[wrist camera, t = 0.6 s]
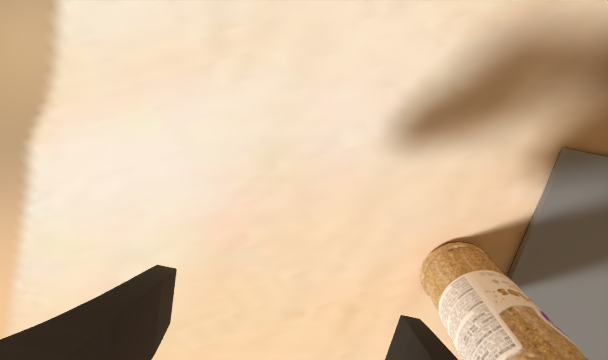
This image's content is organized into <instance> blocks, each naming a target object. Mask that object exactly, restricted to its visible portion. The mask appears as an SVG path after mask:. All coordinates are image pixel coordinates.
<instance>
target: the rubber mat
mask: <svg viewBox="0 0 608 360" xmlns="http://www.w3.org/2000/svg"><path fill="white" fill-rule="evenodd" d="M507 277H508V278H509V279H510V280H512V281H513V282H514V283H515V284H516V285H517V286H518V287H519V288H520V289H521V290H522V291H523V292H524V293H525V294H526V295H527V296H528V297H529V298H530V299H531V301H532V302H533V303H534V304H535V305H537V306H538V307H539V308H540V309H541V310H542V312H543V313H544V314H545V315H546V316H547V317H548V318H549V319H550V320H551V321H552V322H553V323H554V324H555V325H556V326H557V327H558V328H559V329H560V330H561V331H562V332H563V333H564V334H565V335H567V336H568V337H569V338H570V339H571V340H572V341H573V343H574V344H575V345H576V346H577V347H578V348H579V349H580V351H581V353H582V354H583V355H584V356H585V357H586V358H587V359H588V360H608V157H607V156H602V155H597V154H592V153H587V152H582V151H578V150H573V149H568V148H562V150H561V152H560V155H559V157H558V159H557V162H556V164H555V166H554V169H553V171H552V173H551V176H550V178H549V180H548V183H547V185H546V187H545V190H544V192H543V194H542V196H541V199H540V201H539V203H538V206H537V208H536V210H535V213H534V215H533V217H532V220H531V222H530V224H529V227H528V229H527V231H526V234H525V236H524V238H523V241H522V243H521V245H520V248H519V250H518V252H517V255H516V257H515V259H514V261H513V264H512V266H511V268H510V271H509V273H508V275H507Z"/></svg>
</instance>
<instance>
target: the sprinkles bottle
mask: <svg viewBox="0 0 608 360" xmlns="http://www.w3.org/2000/svg"><path fill="white" fill-rule="evenodd" d="M420 279H421V284H422V286H423V289H424V290H425V292H426V293H427V295H428V296H429V297H430V298H431V299H432V301H433V303H434V305H435V306H436V308H437V310H438V312H439V315H440V318H441V320H442V322H443V324H444V326H445V328H446V330H447V332H448V334H449V336H450V337H451V339H452V341H453V343H454V345H455V347H456V349H457V351H458V352H459V354H460V356H461V358H462V360H588V359H587V358H586V357H585V356H584V355H583V354H582V353H581V351H580V349H579V348H578V347H577V346H576V345H575V344H574V343H573V341H572V340H571V339H570V338H569V337H568V336H567V335H565V334H564V333H563V332H562V331H561V330H560V329H559V328H558V327H557V326H556V325H555V324H554V323H553V322H552V321H551V320H550V319H549V318H548V317H547V316H546V315H545V314H544V313H543V312H542V310H541V309H540V308H539V307H538V306H537V305H535V304H534V303H533V302H532V301H531V299H530V298H529V297H528V296H527V295H526V294H525V293H524V292H523V291H522V290H521V289H520V288H519V287H518V286H517V285H516V284H515V283H514V282H513V281H512V280H510V279H509V278H508V277H506V276H505V275H504V274H503V273H502V272H501V271H500V270H499V269H498V268H497V267H496V266H495V265H494V264H493V263H492V261H491V259H490V258H489V256H488V255H487V254H486V253H485V252H484V251H483V250H482V249H480V248H479V247H477V246H475V245H473V244H468V243H462V242H455V243H449V244H446V245H443V246H441V247H439V248H437V249H436V250H435V251H433V252H432V253H430V254H429V256H428V257H427V259H426V260H425V261H424V263H423V265H422V268H421V273H420Z"/></svg>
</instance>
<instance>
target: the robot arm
mask: <svg viewBox="0 0 608 360" xmlns="http://www.w3.org/2000/svg"><path fill="white" fill-rule="evenodd" d="M176 270H177V269H175V268H170V267H165V266H160V265H156V266H154V267H152V268H150V269H148V270H146V271H145V272H143V273H141V274H139V275H137V276H135V277H134V278H132V279H130V280H128V281H126V282H125V283H123V284H121V285H119V286H117V287H115V288H113V289H111V290H109V291H108V292H106V293H104V294H102V295H100V296H98V297H96V298H94V299H92V300H90V301H88V302H86V303H84V304H82V305H80V306H78V307H75V308H73V309H71V310H69V311H67V312H65V313H63V314H61V315H59V316H57V317H54V318H52V319H50V320H48V321H45V322H43V323H41V324H38V325H36V326H34V327H31V328H29V329H26V330H24V331H21V332H19V333H16V334H14V335H11V336H9V337H6V338H3V339H1V340H0V360H151V359H152V358H153V356H154V355H155V353H156V351H157V349H158V347H159V345H160V343H161V341H162V339H163V337H164V335H165V333H166V331H167V328H168V326H169V324H170V320H171V312H172V303H173V295H174V287H175V278H176ZM385 360H458V359H457V358H456V357H455V356H454V355H453V354H452V353H451V351H450V350H449V349H448V348H447V347H446V346H445V345H444V344H443V343H442V342H441V341H440V339H439V338H438V337H437V336H436V335H435V334H434V333H433V332H432V331H431V330H430V329H429V328H428V327H427V326H426V325H425V324H424V323H423V322H422V321H421V320H420V319H418V318H413V317H408V316H403V315H401V316H400V319H399V322H398V325H397V327H396V330H395V333H394V336H393V339H392V342H391V344H390V347H389V350H388V353H387V356H386V359H385Z"/></svg>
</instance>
